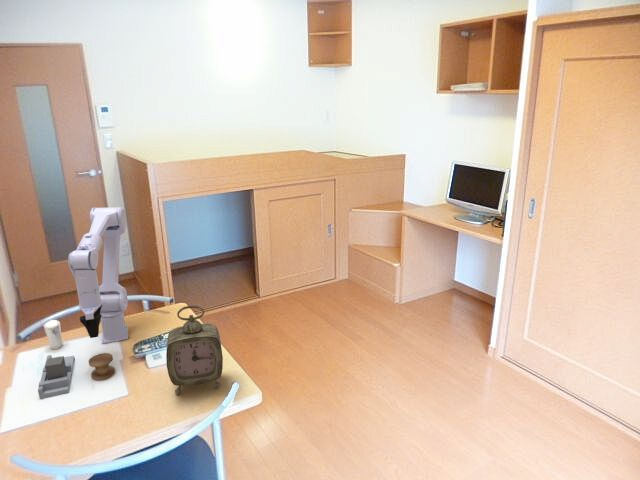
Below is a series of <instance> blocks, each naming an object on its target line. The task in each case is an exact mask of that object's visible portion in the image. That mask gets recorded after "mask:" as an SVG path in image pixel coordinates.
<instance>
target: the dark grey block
mask: <svg viewBox="0 0 640 480" xmlns="http://www.w3.org/2000/svg"><path fill="white" fill-rule="evenodd" d="M64 357H65V356H64V355H61V356H57V357H55V356H54V357H52V358H49V359H48V360H47V362H46V361H45V363H46V365H45V364H44V366H45V369H46V374H47V379H48V380H52V379H57V378H62V377H67V370H66V365H65V360H64Z"/></svg>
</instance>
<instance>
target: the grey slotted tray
mask: <svg viewBox="0 0 640 480" xmlns="http://www.w3.org/2000/svg"><path fill="white" fill-rule="evenodd" d="M49 358H53V357H52V354H50V355H49V354H48V355H47V356H46V359H45V363H44V366H43V369H42V373H41V377H40V381H39V382H38V388H37V393H38V397H39V399H40V400H41V399H44V398H45V399H46V398H49V397H54V396H60V395H65V394H69V393H70V388H71V383H72V377H73V372H74V366H75V361H76V360H75V359H76V358H75V355H69V356H64V360H65V365H66V370H67V377H62V378H57V379H52V380H48V379H47V374H46V369H45V365H46V362H47V360H48V359H49Z"/></svg>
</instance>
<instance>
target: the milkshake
mask: <svg viewBox="0 0 640 480" xmlns="http://www.w3.org/2000/svg"><path fill="white" fill-rule="evenodd" d="M39 322H40V324H41V325H42V326H43V328H44V331H45V334H46V336H47V340H48V343H49V346H50V349H52V350H57V349H60V348H62V347H63V339H62V330H61V329H62V328H61V322H60V321H59V320H57V319H50V320H49V321H47V322H45V323H44V324H43V322H41V321H39Z"/></svg>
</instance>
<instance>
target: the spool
mask: <svg viewBox="0 0 640 480" xmlns="http://www.w3.org/2000/svg"><path fill="white" fill-rule="evenodd" d="M113 361H114V356H113V354H112V353H107V352H101V353H98V354H95V355H93V356H91V358H89V360H88V365H89V367H92V368H95V369H94V370H92V372H91V374H90V376H91V379H92V380H93V381H105V380H107V379H109V378H111V377H113V376H114V375H115V373H116V369H115V367H114V366H112V365H110V363H112V362H113Z"/></svg>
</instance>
